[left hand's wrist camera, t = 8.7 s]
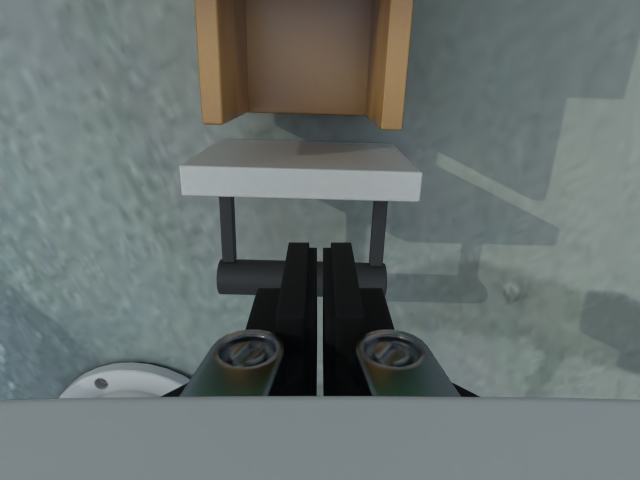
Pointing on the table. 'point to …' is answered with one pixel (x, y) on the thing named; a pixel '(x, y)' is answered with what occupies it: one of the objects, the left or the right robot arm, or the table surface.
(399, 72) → the drawer
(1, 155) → the table surface
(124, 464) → the left robot arm
